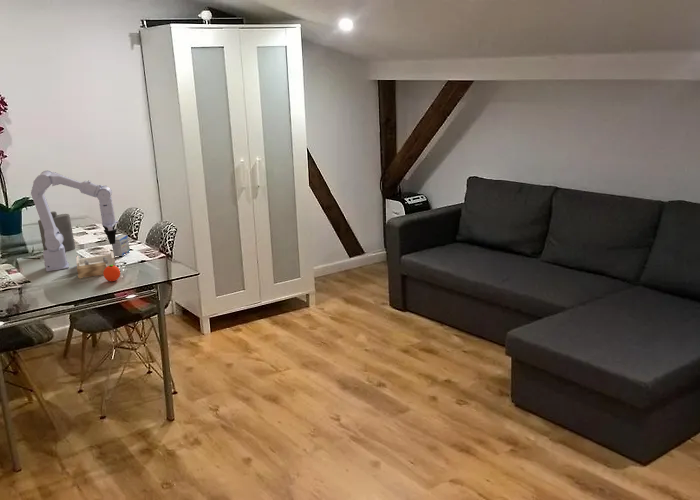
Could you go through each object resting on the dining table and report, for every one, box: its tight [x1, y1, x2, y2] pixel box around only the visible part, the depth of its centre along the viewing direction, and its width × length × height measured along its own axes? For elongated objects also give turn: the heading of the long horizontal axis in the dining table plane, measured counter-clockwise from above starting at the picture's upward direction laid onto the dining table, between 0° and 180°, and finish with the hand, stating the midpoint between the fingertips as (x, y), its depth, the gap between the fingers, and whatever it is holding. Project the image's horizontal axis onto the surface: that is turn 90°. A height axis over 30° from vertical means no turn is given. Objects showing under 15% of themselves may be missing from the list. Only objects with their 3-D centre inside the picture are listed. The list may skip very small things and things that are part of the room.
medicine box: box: [111, 234, 131, 257], centre depth 332 cm, size 8×4×9 cm, turn 168°
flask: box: [37, 211, 76, 252], centre depth 339 cm, size 15×6×20 cm, turn 135°
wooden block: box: [76, 262, 106, 279], centre depth 308 cm, size 12×4×4 cm, turn 111°
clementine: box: [102, 265, 121, 282], centre depth 299 cm, size 8×7×7 cm
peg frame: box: [75, 250, 116, 267], centre depth 318 cm, size 16×11×4 cm
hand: (112, 241), depth 320 cm, fingers open, 7 cm apart
